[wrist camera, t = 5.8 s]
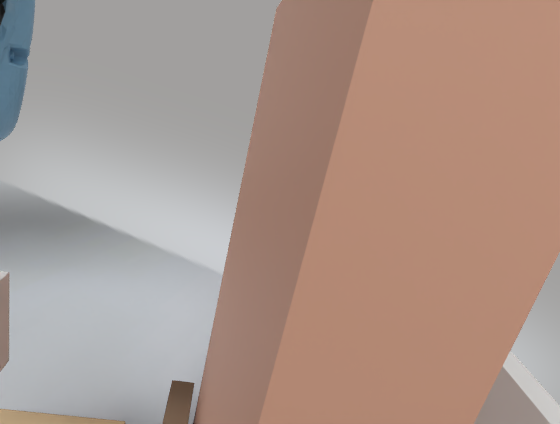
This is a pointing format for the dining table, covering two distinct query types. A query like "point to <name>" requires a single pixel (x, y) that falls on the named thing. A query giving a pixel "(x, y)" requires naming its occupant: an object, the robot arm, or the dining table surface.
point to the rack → (178, 403)
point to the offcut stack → (47, 418)
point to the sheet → (389, 212)
